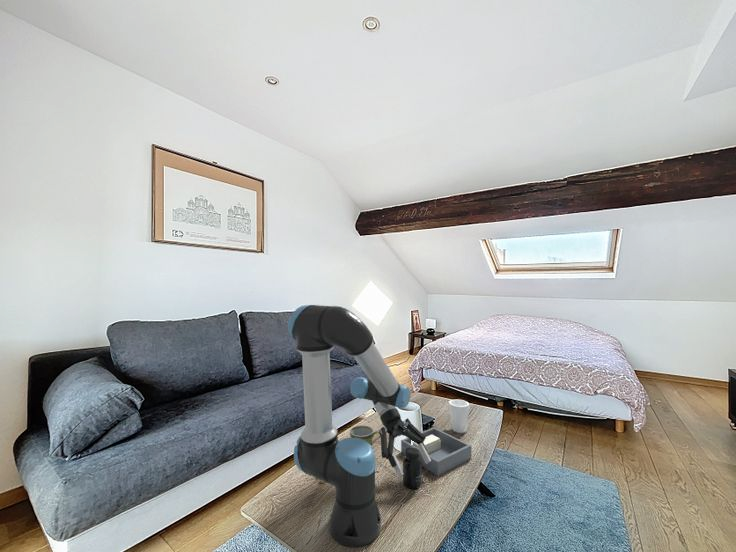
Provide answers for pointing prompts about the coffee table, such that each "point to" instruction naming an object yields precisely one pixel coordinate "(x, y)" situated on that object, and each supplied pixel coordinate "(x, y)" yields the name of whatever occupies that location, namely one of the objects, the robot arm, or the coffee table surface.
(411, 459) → the supplement bottle
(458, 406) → the foam cup
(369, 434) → the ceramic cup
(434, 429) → the tote
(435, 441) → the cream rectangular block
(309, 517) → the coffee table surface
